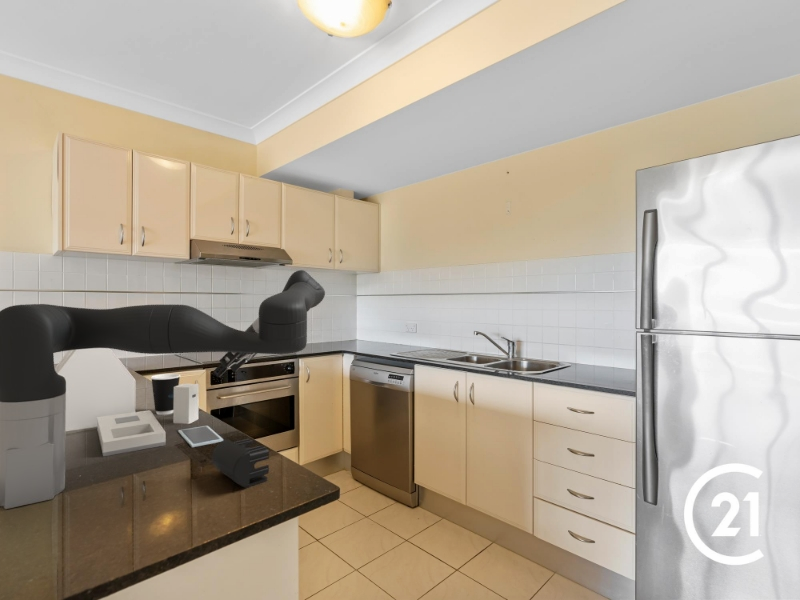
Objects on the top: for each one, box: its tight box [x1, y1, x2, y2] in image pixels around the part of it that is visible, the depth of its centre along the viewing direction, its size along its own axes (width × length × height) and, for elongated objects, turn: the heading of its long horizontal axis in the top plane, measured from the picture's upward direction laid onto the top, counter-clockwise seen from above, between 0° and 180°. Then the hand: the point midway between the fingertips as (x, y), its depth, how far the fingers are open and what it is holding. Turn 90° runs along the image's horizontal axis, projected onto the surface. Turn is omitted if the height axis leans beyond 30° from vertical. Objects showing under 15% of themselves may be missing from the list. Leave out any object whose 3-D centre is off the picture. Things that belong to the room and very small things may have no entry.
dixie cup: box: [150, 373, 182, 416], centre depth 126 cm, size 8×8×11 cm
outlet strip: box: [96, 410, 167, 457], centre depth 105 cm, size 24×12×3 cm, turn 38°
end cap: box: [211, 438, 270, 489], centre depth 81 cm, size 10×7×7 cm
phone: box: [178, 425, 224, 448], centre depth 105 cm, size 14×7×1 cm, turn 39°
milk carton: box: [54, 348, 137, 432], centre depth 117 cm, size 19×15×25 cm
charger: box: [172, 383, 200, 425], centre depth 118 cm, size 5×4×10 cm
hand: (224, 371), depth 117 cm, fingers open, 8 cm apart
